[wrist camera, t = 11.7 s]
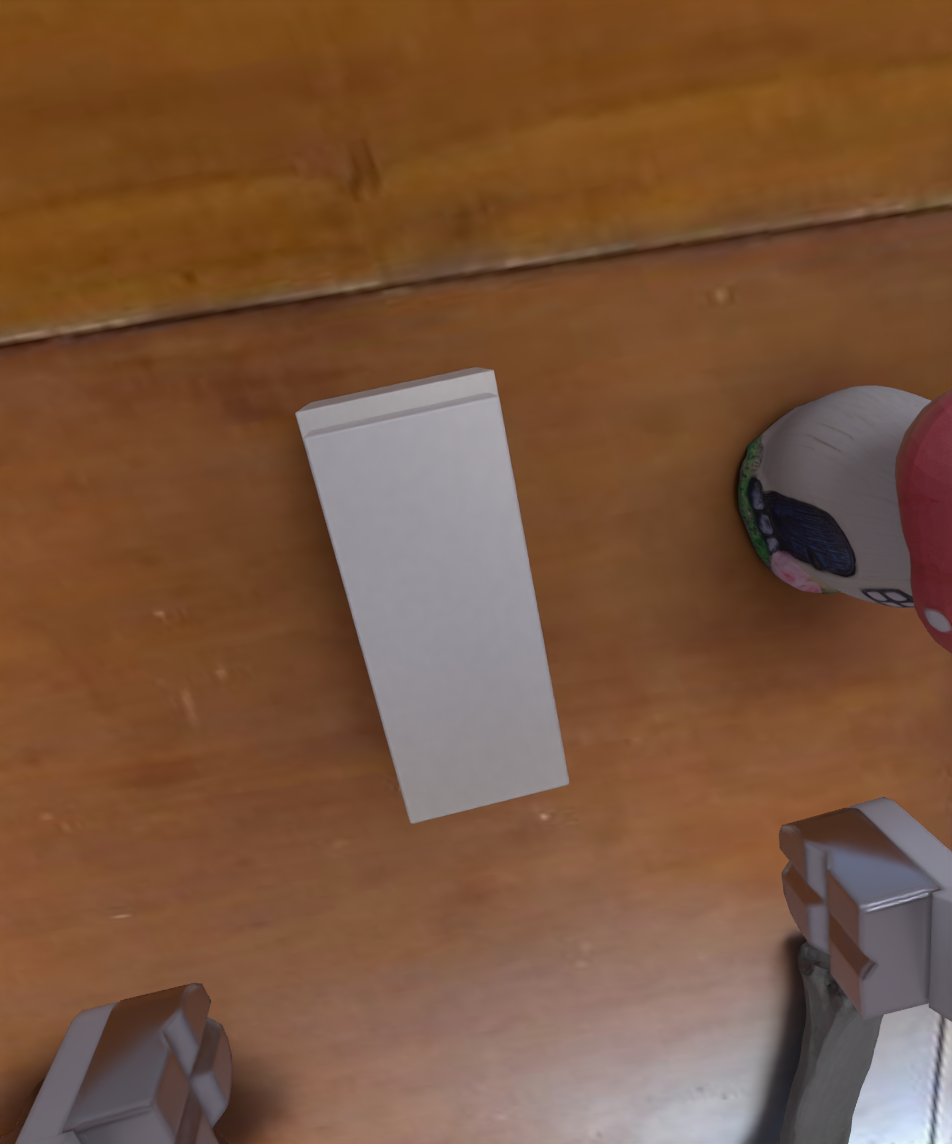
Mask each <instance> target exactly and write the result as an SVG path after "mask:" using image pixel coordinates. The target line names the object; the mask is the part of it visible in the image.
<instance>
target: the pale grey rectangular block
mask: <svg viewBox="0 0 952 1144" xmlns="http://www.w3.org/2000/svg"><path fill="white" fill-rule="evenodd" d="M303 442H304V445H305V449H306V452H307V456H308V460H309V463H310V467H311V470H312V474H313V478H314V481H315V485H316V488H317V492H318V495H319V499H320V503H321V506H322V510H323V513H324V517H325V520H326V524H327V528H328V531H329V535H330V538H331V542H332V546H333V549H334V553H335V556H336V560H337V563H338V567H339V571H340V574H341V578H342V581H343V585H344V588H345V592H346V596H347V599H348V603H349V606H350V610H351V614H352V617H353V621H354V624H355V628H356V631H357V635H358V639H359V642H360V646H361V649H362V653H363V657H364V660H365V664H366V667H367V671H368V674H369V678H370V682H371V685H372V689H373V692H374V696H375V699H376V703H377V707H378V710H379V714H380V717H381V721H382V725H383V728H384V732H385V735H386V739H387V742H388V746H389V750H390V753H391V757H392V760H393V764H394V767H395V771H396V775H397V778H398V782H399V785H400V789H401V793H402V796H403V800H404V803H405V807H406V810H407V814H408V818H409V821H410V823H411V824H413V823H417V822H421V821H425V820H429V819H433V818H437V817H441V816H445V815H449V814H453V813H457V812H461V811H465V810H469V809H473V808H477V807H481V806H485V805H489V804H493V803H497V802H501V801H505V800H509V799H513V798H517V797H521V796H525V795H529V794H533V793H537V792H541V791H545V790H549V789H554V788H558V787H562V786H566V785H568V784H569V777H568V772H567V766H566V761H565V755H564V750H563V744H562V739H561V733H560V728H559V723H558V717H557V712H556V706H555V701H554V695H553V690H552V684H551V679H550V673H549V668H548V662H547V657H546V651H545V646H544V640H543V635H542V629H541V624H540V618H539V613H538V607H537V602H536V596H535V591H534V585H533V580H532V575H531V569H530V564H529V558H528V553H527V547H526V542H525V536H524V531H523V525H522V520H521V514H520V509H519V503H518V498H517V492H516V487H515V481H514V476H513V470H512V465H511V459H510V454H509V448H508V443H507V437H506V432H505V427H504V421H503V416H502V410H501V405H500V399H499V397H498V396H496V395H494V394H491V393H488V392H487V393H482V394H477V395H473V396H468V397H463V398H459V399H454V400H450V401H445V402H440V403H436V404H431V405H426V406H422V407H417V408H412V409H408V410H403V411H399V412H394V413H389V414H385V415H380V416H375V417H371V418H366V419H361V420H357V421H352V422H347V423H343V424H338V425H334V426H329V427H324V428H320V429H315V430H311V431H310V432H309V433H308V434H307V435H306V436H305V437H304V439H303Z"/></svg>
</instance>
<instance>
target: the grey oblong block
mask: <svg viewBox="0 0 952 1144" xmlns="http://www.w3.org/2000/svg"><path fill="white" fill-rule="evenodd" d="M487 392H488V393H491V394H494V395H496V396H498V397H499V395H498V390H497V384H496V379H495V373H494V370H490V369H485V368H478V367H474V368H469V369H464V370H460V371H455V372H450V373H446V374H441V375H436V376H432V377H427V378H422V379H418V380H413V381H408V382H404V383H399V384H394V385H390V386H385V387H381V388H376V389H371V390H367V391H362V392H357V393H353V394H348V395H343V396H339V397H334V398H329V399H325V400H320V401H315V402H311V403H309V404H308V405H306V406H305V407H303V408H302V409H300V410H299V411H297V412H296V413H295V414H296V418H297V422H298V425H299V429H300V432H301V436H302V439H304V437H305V436H306V435H307V434H308V433H309V432H310V431H311V430H315V429H320V428H324V427H329V426H334V425H338V424H343V423H347V422H352V421H357V420H361V419H366V418H371V417H375V416H380V415H385V414H389V413H394V412H399V411H403V410H408V409H412V408H417V407H422V406H426V405H431V404H436V403H440V402H445V401H450V400H454V399H459V398H463V397H468V396H473V395H477V394H482V393H487ZM303 443H304V442H303ZM304 446H305V445H304ZM305 450H306V449H305ZM306 454H307V452H306ZM307 457H308V456H307ZM308 461H309V460H308ZM309 464H310V463H309ZM310 468H311V467H310ZM311 471H312V470H311ZM312 475H313V474H312ZM314 482H315V481H314ZM315 486H316V485H315ZM316 489H317V488H316ZM317 493H318V492H317ZM318 496H319V495H318ZM319 500H320V499H319ZM321 507H322V506H321ZM323 514H324V513H323ZM324 518H325V517H324ZM325 521H326V520H325ZM326 525H327V524H326ZM328 532H329V531H328ZM330 539H331V538H330ZM335 557H336V556H335ZM337 564H338V563H337ZM529 564H530V563H529ZM531 575H532V574H531ZM344 589H345V588H344ZM536 602H537V601H536ZM538 613H539V612H538ZM540 624H541V623H540ZM541 629H542V628H541ZM542 635H543V634H542ZM543 640H544V639H543ZM544 646H545V645H544ZM545 651H546V650H545ZM546 657H547V656H546ZM547 662H548V661H547ZM548 668H549V666H548ZM549 673H550V672H549ZM550 679H551V677H550ZM551 684H552V683H551ZM552 690H553V688H552ZM553 695H554V694H553ZM554 701H555V699H554ZM555 706H556V704H555ZM556 712H557V710H556ZM557 717H558V715H557ZM558 723H559V721H558ZM559 728H560V726H559ZM560 733H561V732H560ZM561 739H562V737H561ZM562 744H563V742H562ZM563 750H564V748H563Z"/></svg>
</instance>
